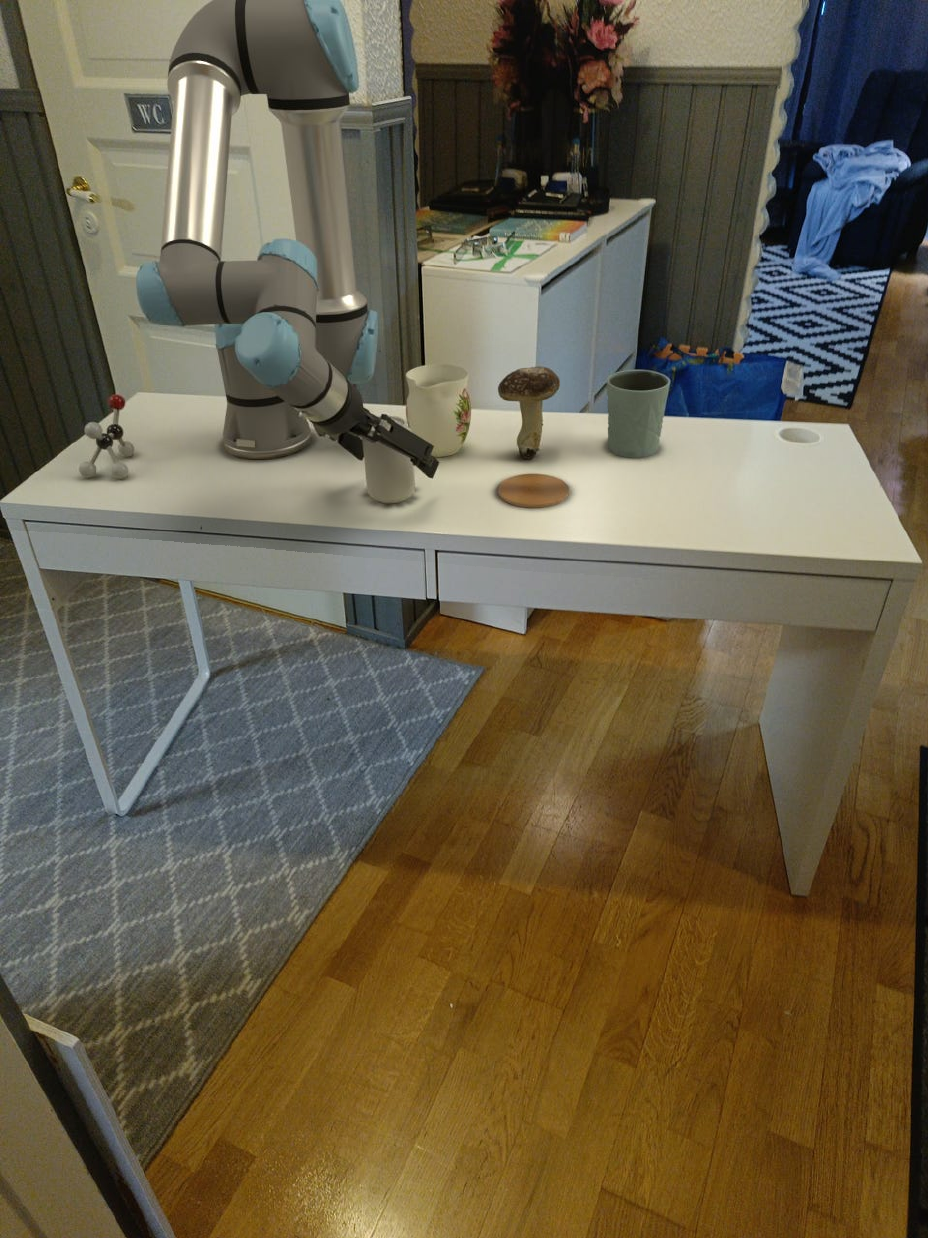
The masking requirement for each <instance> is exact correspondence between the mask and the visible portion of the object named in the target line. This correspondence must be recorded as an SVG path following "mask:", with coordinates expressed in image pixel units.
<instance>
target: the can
mask: <svg viewBox="0 0 928 1238" xmlns="http://www.w3.org/2000/svg"><path fill="white" fill-rule="evenodd" d="M388 416H389V417H390V418H391V419H392V420H394V421H395V422H396V423H398V424H399V425H401V426H403V427H404V428H406V429H407V430H409V431H411V429H410V428H409V427H408V423H407V419H405V418H403V417H400V416H396V415H388ZM378 417H379V418H380V417H381V415H380V416H378ZM374 431H375V427H372V429H371V431H370V433H369V434H368V435H370V436H373V433H374ZM411 432H412V431H411ZM361 439H362V441H363V452H364V458H363V462H364V471H365V481H366V482H365V483H366V492H367V495H368V496H369V497H371V498H372V499H373V500H374V501H376V502H377V503H382V504H398V503H402V502H405V501H406V500H408V499H409V498H410V497H411V496H412V495H413V494H414V493H415V491H416V480H415V479H416V478H415V466H414V465H412V464H413V463H412V462H411V461H410V459H411V458H409V457H407V456H405V455H403V454H401V453H399V452H397V451H395V450H393V449H391V448H389V447H387V446H385V445H383V444H381V443H379V442H375V443H372V442H370V441H368V440H366V439H364V438H362V437H361Z"/></svg>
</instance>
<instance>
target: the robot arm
mask: <svg viewBox="0 0 928 1238" xmlns="http://www.w3.org/2000/svg"><path fill="white" fill-rule="evenodd" d="M352 33H353V32H352V28H351V25H350V21H349V17H348V14H347V11H346V8H345V6H344V4H343V2H342V0H210V1H209V2H208V3H206V4H205V5H203V6H202V7H201V8H200V9H199V10H198V11H197V12H196V13H194V15H192V17H191V18H190V20H189V21H188V22H187V24H186V25H185V26H184V28H183V30H182V32H181V33H180V35H179V37H178V38H177V41H176V43H175V45H174V47H173V50H172V53H171V56H170V59H169V64H168V70H167V71H168V72H167V83H166V85H167V90H168V94H169V96H170V98H171V99H172V102H173V105H172V116H171V117H172V118H171V128H170V140H169V152H168V161H167V163H168V164H167V173H166V174H167V176H166V185H165V195H164V196H165V197H164V209H163V218H162V219H163V220H162V230H161V241H160V242H161V244H160V253H159V254H160V256H159V261H156V260H154V261H152V262H147V263H143V264H141V265H140V266H139V269H138V270H137V273H136V278H135V288H136V290H135V291H136V296H137V301H138V304H139V308H140V310H141V312H142V313H143V315H144V316H145V318H146V320H148V321H149V322H150V323H152V324H153V325H158V326H171V327H172V326H174V327H182V328H184V327H185V326H204V325H205V326H206V325H208V326H209V325H213V326H214V327H213V329H214V335H215V336H214V337H215V349H216V351H217V355H218V361H219V366H220V373H221V378H222V383H223V387H224V393H225V399H226V409H225V417H224V424H223V430H222V441H223V447H224V450H225V451H226V452H227V453H229V454H230V455H232V456H235V457H237V458H241V459H247V460H248V459H250V460H265V459H274V458H275V459H276V458H281V457H285V456H289V455H291V454H294V453H295V454H296V453H297V452H300V451H301V450H304V449H305V448H306V447H308V445H309V444H310V443H311V441H312V430H311V428H310V423H311V424H312V426H313V428H314V431H315V432H316V434H317V435H318V437H321V438H325V437H326V436H328V439H329V440H330V441H331V442H337V444H338V445H339V446H341V448H343V449H344V450H345V451H346V452H348V453H349V454H351V455H352V456H353V457H354V458H355V459H356V460H357V461H364V452H363V441H362V438H364V439H366V440H368V441H370V442H372V443H375V442H379V443H381V444H383V445H385V446H387V447H389V448H391V449H393V450H395V451H397V452H399V453H401V454H403V455H405V456H407V457H409V458H411V459H410V461H411V462H412V463H413V464H412V465H414V467H416V468H417V469H419V470H420V471H421V472H422V473H423V474H424V475H425V476H427V478H429V479H434V477H435V476H436V475H435V474H436V473H437V470H438V467H439V465H440V462H439V460H438V459H436V457H434V456H432V455H431V453H432V450H433V448H434V446H433V445H432V444H431V443H429V442H427V441H425V440H424V439H422V438H421V437H419V436H417V435H416V434H414V433H412V432H411V431H409V430H407V429H406V428H404V427H403V426H401V425H399V424H398V423H396V422H395V421H394V420H392V419H391V418H390V417H389V416H390V415H388V414H386V413H381V414H380V416H381V417H380V416H378V415H375V414H373V413H372V412H371V411H370V410H369V409H368V408H366V407H364V401H363V397H362V394H361V392H360V391H359V389H358V388H357V387H356V386H355V385H357V384H366V383H368V382H370V381H371V380H372V378H373V376H374V373H375V369H376V368H375V367H376V361H377V359H376V358H377V352H378V351H377V349H378V338H379V337H378V336H379V334H378V333H379V319H378V318H379V314H378V312H377V311H375V310H373V309H368V300H367V297H366V296H365V295H364V294H363V293H361V291H359V290H358V288H357V280H356V270H355V257H354V250H353V249H354V248H353V238H352V228H351V216H350V215H351V214H350V205H349V195H348V194H349V193H348V185H347V171H346V163H345V151H344V150H345V149H344V142H343V141H344V139H343V131H342V130H343V129H342V119H343V117H344V116H345V114H346V113H347V112H348V110H349V109H350V108H351V101H350V99H351V98H350V94H354V93H356V92H357V91H358V90H359V88H360V87H359V86H360V79H359V78H360V77H359V70H358V60H357V59H358V58H357V53H356V48H355V43H354V42H355V41H354V38H353V34H352ZM246 95H266V99H267V107H268V108H267V109H268V111H269V112H270V113H271V114H272V115H273V116H274V117H275V118H276V119H278V121H279V122H280V125H281V132H282V140H283V141H282V142H283V148H284V155H285V164H286V171H287V178H288V179H287V180H288V188H289V195H290V202H291V211H292V220H293V226H294V233H295V234H294V235H295V239H291V238H284V237H283V238H275V239H273V240H272V241H268V242H265V243H264V244H263V245H262V246H261V247H260V249H259V252H258V256H257V259H256V260H228V261H227V260H226V261H225V260H223V261H222V255H223V254H222V253H223V241H224V240H223V238H224V227H225V226H224V225H225V211H226V198H227V184H228V173H229V171H228V170H229V159H230V158H229V156H230V145H231V144H230V143H231V132H232V118H233V116H234V115H236V113H237V112H238V110H239V108H240V106H241V99H242V98H241V97H242V96H246ZM379 417H380V418H379ZM309 422H310V423H309ZM372 427H375V431H374V433H373V436H370V435H368V434H369V433H370V431H371V429H372Z"/></svg>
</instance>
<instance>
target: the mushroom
mask: <svg viewBox="0 0 928 1238" xmlns="http://www.w3.org/2000/svg"><path fill="white" fill-rule="evenodd" d="M560 385H561V382H560V378H559V376H558V375H557V373H556V372H555V371H554V370H552V369H550V368H549V367H547V366H531V367H522V368H517V369H515V370H514V371H511V372H510V373H508V374H507V375H506V376H505V377H503V379H502V380H501V381H500V382H499V384H498V386H497V392H498V396H499V397H500V398H501V399H502V400H503V401H506V402H519V407H520V409H519V410H520V413H521V427H520V430H519V432H518V435H517V437H516V446H517V447H518V454H519V455H520V458H522V459H525V460H531V459H534V458H535V457H536V456H537V455H538V454H537V452H540V450H541V449H540V446H541V445H540V444H541V440H542V433H543V426H544V423H543V422H544V419H543V403H544V402H543V401H546V400H549V399H550V398H552V397H554V396H555V394H557V392H558V391H559V389H560Z"/></svg>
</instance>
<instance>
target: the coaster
mask: <svg viewBox="0 0 928 1238" xmlns="http://www.w3.org/2000/svg"><path fill="white" fill-rule="evenodd" d="M497 494H498V496H499V497H500V498H501V499H502V500H503V501H504V502H506V503H508V504H510V505H513V506H517V507H521V508H530V509H531V508H532V509H533V508H534V509H535V508H536V509H538V508H547V507H551V506H556V505H559V504H560V503H562V502H564V501H565V500H566V499H567V498H568V496H569V494H570V487H569V485H568V484H567V483H566V482H565V481H564V480H563V479H561V478H558V477H556V476H554V475H549V474H543V473H524V474H523V473H521V474H517V475H513V476H510V477H508V478H506V479H504V480H503V481H502V482H500V484H499V485H498V493H497Z"/></svg>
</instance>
